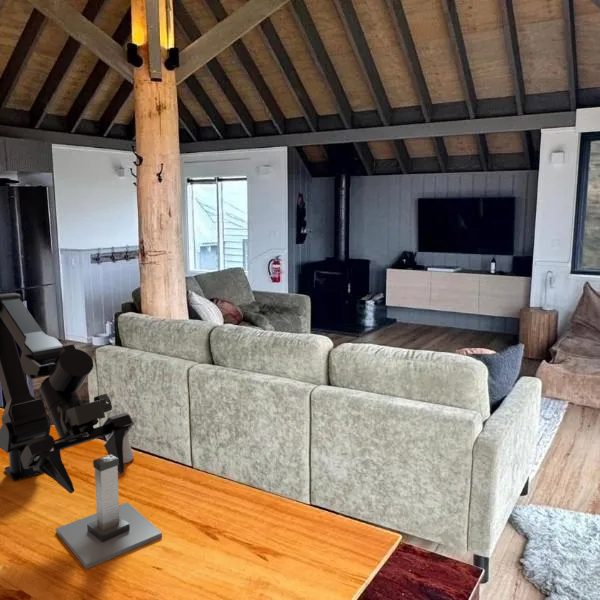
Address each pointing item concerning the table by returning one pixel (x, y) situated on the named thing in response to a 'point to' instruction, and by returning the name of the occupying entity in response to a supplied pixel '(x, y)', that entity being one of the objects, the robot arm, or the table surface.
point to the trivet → (96, 551)
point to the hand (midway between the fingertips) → (98, 482)
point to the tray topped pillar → (107, 500)
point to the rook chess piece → (127, 449)
